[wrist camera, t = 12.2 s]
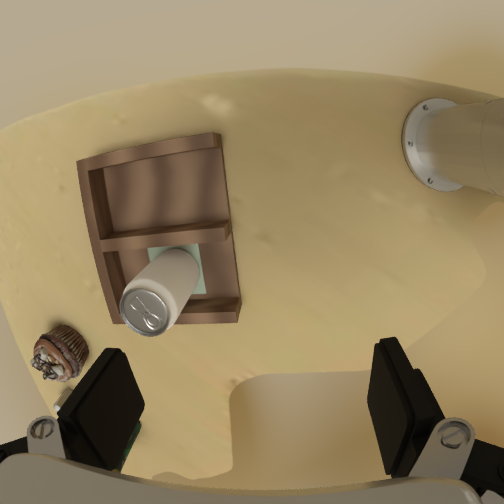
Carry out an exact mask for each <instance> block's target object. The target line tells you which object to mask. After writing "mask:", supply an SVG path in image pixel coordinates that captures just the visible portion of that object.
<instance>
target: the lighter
mask: <svg viewBox="0 0 504 504" xmlns="http://www.w3.org/2000/svg"><path fill="white" fill-rule="evenodd" d="M71 393H72V390H71V389H70V388H67V389H66V390H65V391H64V392H63V393H62V395H61V396H60V397H59V399H58V400H57V401H56V403H55V404H54V407H53V408H54V409H55V410H56V411H57V412H58V410H59V409H60V408H61V406H62V405H63V404H64V402H65V401H66V400H67V398H68V397H69V395H70V394H71Z"/></svg>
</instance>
